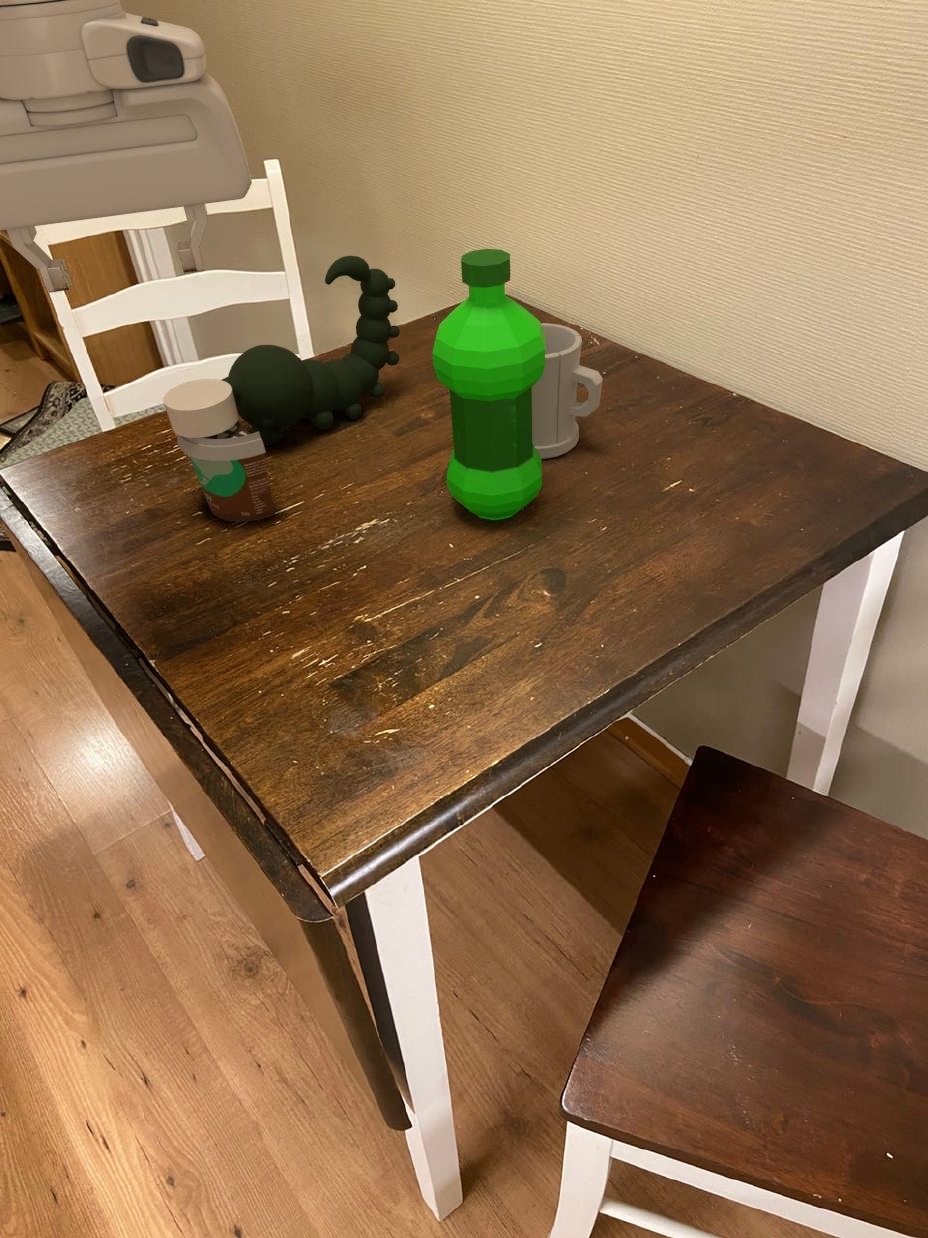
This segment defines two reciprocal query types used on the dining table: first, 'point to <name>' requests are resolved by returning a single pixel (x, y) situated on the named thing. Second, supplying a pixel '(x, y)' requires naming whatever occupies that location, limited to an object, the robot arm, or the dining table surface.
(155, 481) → the dining table surface
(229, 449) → the food container
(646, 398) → the dining table surface
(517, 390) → the plastic bottle
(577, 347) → the cup
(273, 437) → the toy figurine
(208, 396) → the beige hockey puck
